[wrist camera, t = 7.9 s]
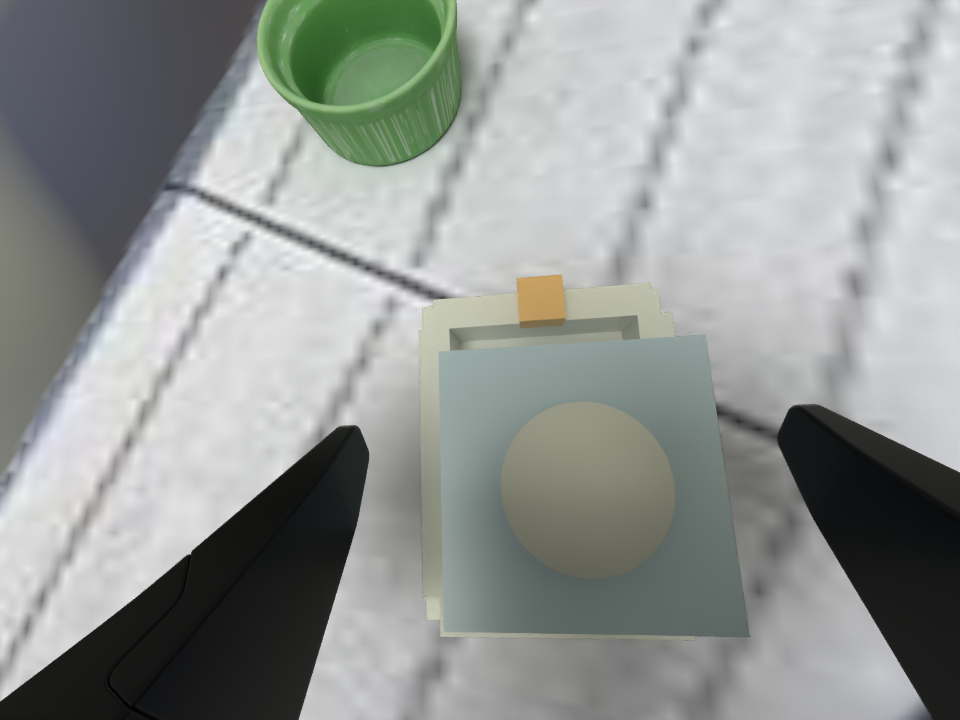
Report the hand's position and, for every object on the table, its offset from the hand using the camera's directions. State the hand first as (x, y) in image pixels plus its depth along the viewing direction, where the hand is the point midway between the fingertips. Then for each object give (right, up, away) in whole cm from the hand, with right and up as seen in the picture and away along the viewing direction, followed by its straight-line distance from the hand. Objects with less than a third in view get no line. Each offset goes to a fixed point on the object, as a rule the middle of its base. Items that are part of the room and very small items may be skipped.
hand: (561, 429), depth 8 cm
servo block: (+1, -2, +8) cm, 8 cm away
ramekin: (-7, +15, +13) cm, 21 cm away
